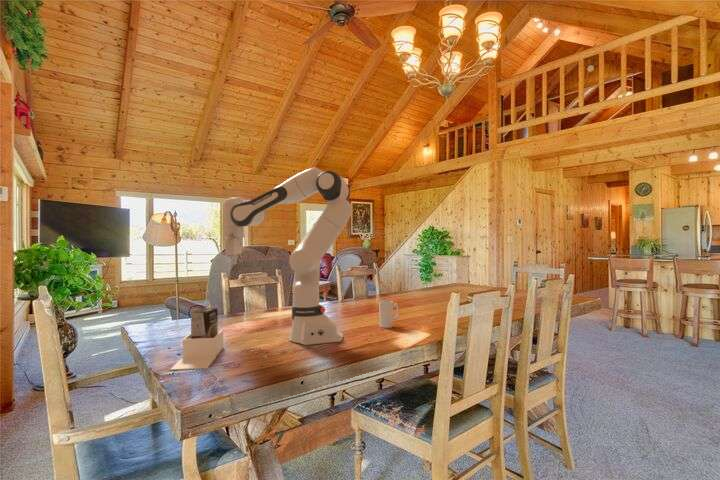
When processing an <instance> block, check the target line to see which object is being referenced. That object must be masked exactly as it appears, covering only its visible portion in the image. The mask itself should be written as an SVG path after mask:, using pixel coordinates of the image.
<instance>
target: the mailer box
mask: <svg viewBox="0 0 720 480" xmlns="http://www.w3.org/2000/svg"><path fill="white" fill-rule="evenodd" d="M223 349H224V329H221V330H220V331H218V334H217V335H216V336H215V337H214V338H195V339H191V332H190V333H188V334H187V335H186V336H185V337H184V338H183V339H182V358H181V359H179V360H178V361H177V362H176V363H175V364H174V365H173V366H172V367H171V368H170V369H169V371H185V370H187V371H188V370H202V369H203V370H204V369H205V370H206V369H208V368H209V367H210V366H211V365H212V363H213V362H214V361H215V360H216V358H217V356H218V355H219V354H220V352H221V351H222V350H223Z"/></svg>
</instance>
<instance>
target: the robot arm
mask: <svg viewBox="0 0 720 480" xmlns="http://www.w3.org/2000/svg"><path fill="white" fill-rule="evenodd" d="M317 193H318V194H320V195H321V196H322V197H323V200H325V201H326V202H327V203H326V206H325V209H324V210H323V212H322V213H321V214H320V215H319V216H318V219H317V220H316V221H315V223H314V224H313V226H311V228H310V230H309V231H308V232H307V233H306V234H305V235H304V237H303V238H302V239H301V241H300V242H299V243H298V244H297V245H296V247H295V248H294V250H293V251H292V252H291V254H290V256H289V261H288V262H289V266H290V268H291V269H292V270H293V271H294V272H293V273H294V275H293V281H292V282H293V283H292V306H291V319H292V323H291V332H290V336H289V341H290V342H292V343H297V344H301V345H304V346H306V345H307V346H309V345H316V344H319V345H320V344H327V343H328V344H329V343H339V342H342V340H343V338H344V335H343V333H342V332H340V331H339V330H338V326H337V323H336V322H335V320H333V319H332V318H330V316H328V315H327V314H325V313H326V308H325V307H324V306H323V305H321V304H320V275H321V274H320V273H321V260H322V259H323V257H324V256H325V254H326V253H328V252H327V251H329V250H330V248H331V246H333V244H334V243H335V241H336V240H337V238H338V237H339V236H340V234H341V233H342V231H343V230H344V229H345V227H346V225H347V224H348V222H349V220H350V218H351V216H352V214H353V206H352V204H351V203H350V201H349V199H350V196H351V189H350V187H349V185H348V183H347V182H346V180H345V179H344V178H343V177H342V176H340V175H339V174H338V173H337V172H335V171H334V170H333V171H332V170H324V171H322V170H321V169H320V168H318V167H314V166H313V167H310V168H308V169H305V170H303V171H301V172H298V173H297V174H295V175H294V176H291V177H290V178H288V179H287V180H285V181H284V182H282V183H281V184H278V185H277V186H275V187H274V188H272V189H270V190H268V191H266V192H264V193H262V194H259V196H257V197H255V198H253V199H250V200H248V201H246V200H244V199H243V198H242V197H240V196H237V197H235V196H234V197H233V196H232V197H229V198H227V199H225V201H224V203H223V217H222V218H223V221H224V222H223V223H224V224H223V238H225V250H224V251H225V256H230V261H231V265H233V266H234V265H238V258H239V257H238V255H239V254H242V253H243V248H244V238H245V227H257V226H260V225H261V224H263V222H264V221H265V218H266V214H265V211H266V210H268V209H270V208H273V207H274V206H278V205H289V204H291V205H292V204H297V203H300V202H302V201H304V200H306V199H308V198H310V197H311V196H313V195H315V194H317Z"/></svg>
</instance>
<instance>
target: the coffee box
mask: <svg viewBox="0 0 720 480" xmlns="http://www.w3.org/2000/svg"><path fill="white" fill-rule="evenodd" d="M218 309H219V308H217V307H209V308H206V307H204V308H199V309H197V310H194V311H191V312H190V333H191V339H195V338H214V337H215V336H216V335H217V334H218V333H219V329H218V326H219V325H218V324H219V323H218V322H219V321H218V319H219V317H218Z"/></svg>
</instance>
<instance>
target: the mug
mask: <svg viewBox="0 0 720 480" xmlns="http://www.w3.org/2000/svg"><path fill="white" fill-rule="evenodd" d="M394 308H396V310H397V311H396V313H395V314H396V315H394ZM378 311H379V312H378V314H379V315H378V316H379V317H378V318H379V319H378V320H379V327H380V328H382V329H383V328H384V329H391V328H394V327H393V326H394V321H397V320H398V318H399V316H400V307H399V306H398V303H397V302H395V303H394V301H393V300H389V299H388V300H387V299H386V300H379V301H378Z"/></svg>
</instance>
